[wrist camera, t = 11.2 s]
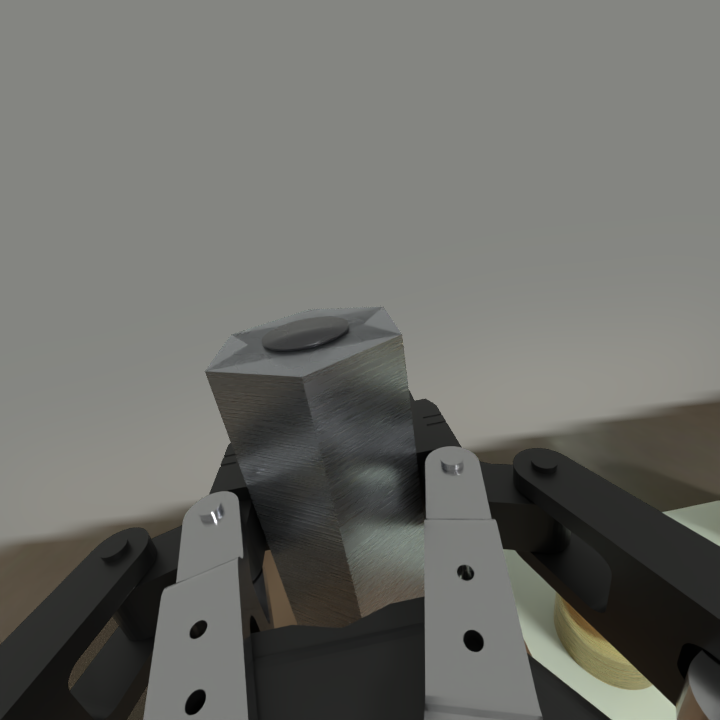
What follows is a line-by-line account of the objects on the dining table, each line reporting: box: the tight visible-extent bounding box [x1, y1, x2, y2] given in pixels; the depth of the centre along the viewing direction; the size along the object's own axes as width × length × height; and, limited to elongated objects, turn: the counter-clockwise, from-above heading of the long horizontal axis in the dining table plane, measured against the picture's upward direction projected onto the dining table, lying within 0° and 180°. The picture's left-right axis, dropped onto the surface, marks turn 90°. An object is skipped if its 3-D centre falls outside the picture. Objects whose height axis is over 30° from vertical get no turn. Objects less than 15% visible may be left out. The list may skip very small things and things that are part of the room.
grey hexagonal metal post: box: [205, 307, 425, 628], centre depth 10 cm, size 4×5×10 cm
